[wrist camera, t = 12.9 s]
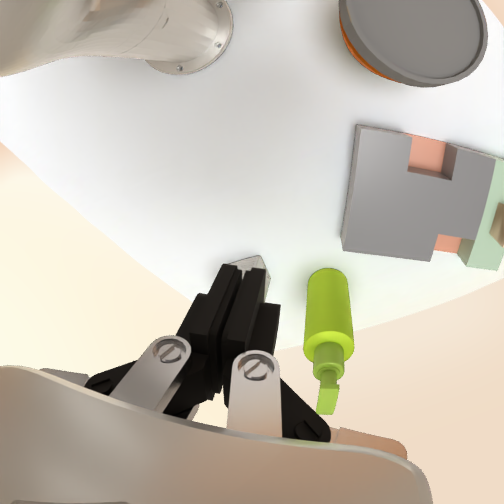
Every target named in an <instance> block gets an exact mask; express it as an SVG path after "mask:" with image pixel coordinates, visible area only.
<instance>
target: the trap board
mask: <svg viewBox="0 0 504 504" xmlns="http://www.w3.org/2000/svg"><path fill="white" fill-rule="evenodd" d="M498 202H499V203H503V204H504V159H501V158H498V157H495V156H492V155H489V154H485V153H482V152H479V151H475V150H472V149H468V148H465V147H461V146H457V145H453V144H450V143H446V142H442V141H438V140H433V139H429V138H425V137H420V136H416V135H411V134H406V133H401V132H396V131H391V130H386V129H380V128H374V127H368V126H362V125H356V132H355V141H354V149H353V158H352V166H351V173H350V181H349V188H348V195H347V201H346V208H345V214H344V220H343V226H342V232H341V242H342V248H343V251H348V252H356V253H364V254H372V255H380V256H388V257H396V258H404V259H412V260H420V261H428V262H430V260H431V257H432V254H433V250H437V251H444V252H451V253H457V254H458V255H459V257H460V258H461V260H462V261H463V263H464V264H465V266H466V267H473V268H480V269H488V270H495V271H497V270H498V268H499V265H500V263H501V260H502V257H503V255H504V248H502V246H501V245H500V244H499V243H498V242H497V241H496V240H495V239H494V238H493V237H492V236H491V235H490V234H489V232H490V229H491V226H492V223H493V219H494V216H495V213H496V209H497V205H498Z"/></svg>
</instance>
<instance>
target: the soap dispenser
mask: <svg viewBox="0 0 504 504" xmlns="http://www.w3.org/2000/svg"><path fill="white" fill-rule="evenodd" d="M303 350H304V354H305V356H306V358H307V359H308V360H309V361H311V362H313V374H314V376H315V378H316V379H318V380H320V381H321V382H320V390H319V396H318V403H317V408H316V413H317V414H324V415H332V414H333V412H334V409H335V406H336V401H337V398H338V392H339V385H337V380H338V379H340V378H341V377H342V376H343V374H344V362H345V361H346V360H348V359H349V358H350V357H351V355H352V354H353V352H354V339H353V327H352V317H351V308H350V299H349V291H348V283H347V279H346V277H345V276H344V274H343V273H341V272H340V271H338V270H336V269H332V268H325V269H321V270H318V271H316V272H315V273H314V274H313V275H312V276H311V277H310V279H309V281H308V290H307V306H306V321H305V334H304V346H303Z"/></svg>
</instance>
